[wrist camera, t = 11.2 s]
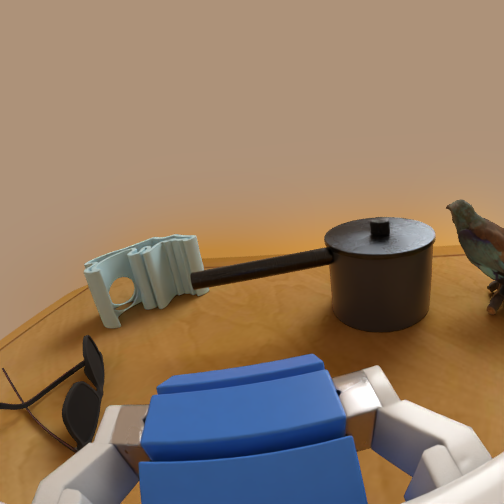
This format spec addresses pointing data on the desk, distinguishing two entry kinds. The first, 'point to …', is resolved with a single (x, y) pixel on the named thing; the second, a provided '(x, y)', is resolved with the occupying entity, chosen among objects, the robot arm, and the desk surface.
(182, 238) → the squiggly pen holder
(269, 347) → the desk surface
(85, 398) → the sunglasses
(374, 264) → the saucepan
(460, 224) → the bird figurine
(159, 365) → the desk surface
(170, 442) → the gear wheel
